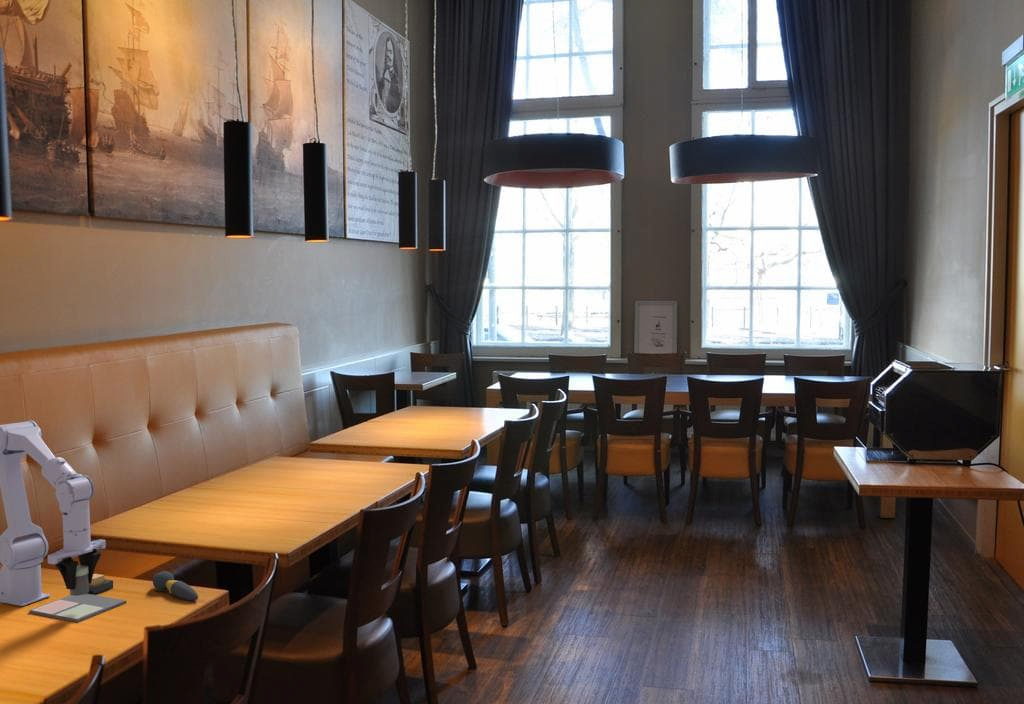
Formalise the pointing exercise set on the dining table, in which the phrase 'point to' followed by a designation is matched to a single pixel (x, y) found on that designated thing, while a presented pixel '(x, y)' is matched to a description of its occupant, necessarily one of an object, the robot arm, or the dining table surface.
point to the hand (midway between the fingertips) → (79, 585)
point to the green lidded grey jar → (81, 581)
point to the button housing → (100, 587)
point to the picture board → (77, 607)
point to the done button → (97, 579)
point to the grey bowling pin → (174, 586)
